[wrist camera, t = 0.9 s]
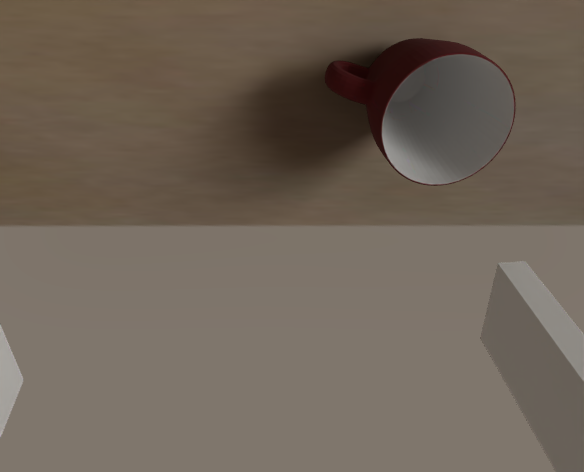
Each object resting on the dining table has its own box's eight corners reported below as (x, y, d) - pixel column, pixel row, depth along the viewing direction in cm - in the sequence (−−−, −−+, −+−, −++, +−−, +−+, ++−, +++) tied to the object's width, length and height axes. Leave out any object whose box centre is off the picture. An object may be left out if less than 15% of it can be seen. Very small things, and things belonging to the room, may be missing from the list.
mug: (304, 121, 41) (327, 179, 32) (321, 7, 37) (351, 39, 28) (437, 133, 42) (491, 190, 34) (466, 24, 38) (536, 59, 30)
